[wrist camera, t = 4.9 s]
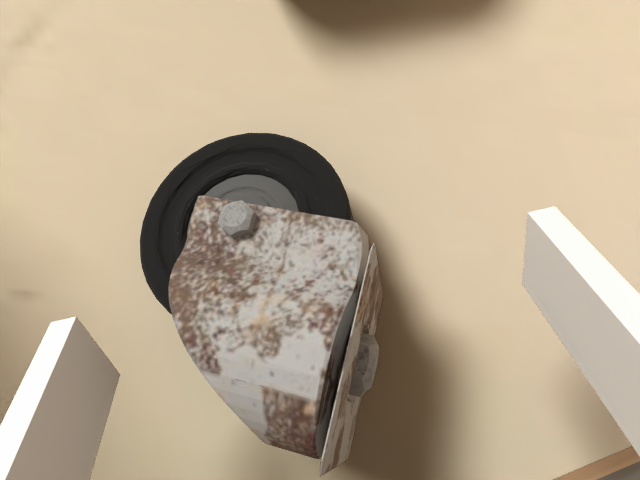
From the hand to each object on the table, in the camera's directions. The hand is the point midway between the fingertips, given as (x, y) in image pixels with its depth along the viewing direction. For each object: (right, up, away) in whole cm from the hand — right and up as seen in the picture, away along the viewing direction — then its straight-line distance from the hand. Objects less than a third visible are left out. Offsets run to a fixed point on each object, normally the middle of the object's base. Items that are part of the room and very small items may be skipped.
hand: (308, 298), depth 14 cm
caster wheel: (-2, 0, +7) cm, 7 cm away
